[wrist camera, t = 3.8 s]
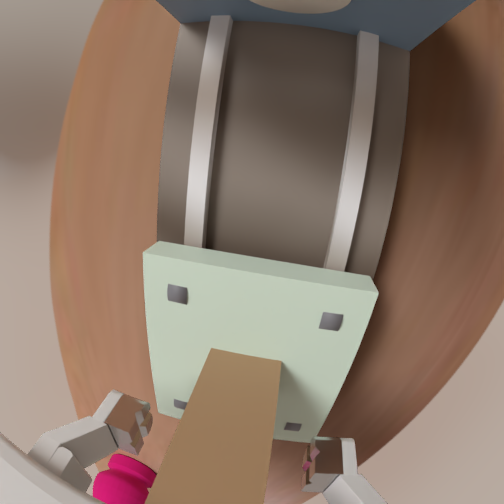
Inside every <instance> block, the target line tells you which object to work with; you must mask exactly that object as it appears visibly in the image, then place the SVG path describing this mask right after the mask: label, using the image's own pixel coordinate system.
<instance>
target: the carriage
mask: <svg viewBox="0 0 504 504" xmlns="http://www.w3.org/2000/svg"><path fill="white" fill-rule="evenodd" d="M143 274H144V295H145V310H146V323H147V334H148V343H149V352H150V361H151V368H152V376H153V383H154V389H155V396H156V402H157V407H158V413H161V414H164V415H168V416H171V417H174V418H178V419H181V420H180V422H179V424H178V427H177V429H176V431H175V434H174V436H173V438H172V441H171V443H170V445H169V448H168V450H167V452H166V455H165V457H164V459H163V462H162V464H161V466H160V469H159V471H158V473H157V476H156V478H155V480H154V483H153V485H152V487H151V490H150V492H149V494H148V497H147V499H146V501H145V504H264V497H265V491H266V484H267V478H268V471H269V464H270V456H271V449H272V441H273V439H278V440H286V441H295V442H306V443H310V441H311V439H312V437H316V436H317V434H318V432H319V431H320V429H321V427H322V425H323V423H324V421H325V419H326V418H327V416H328V414H329V412H330V410H331V408H332V406H333V404H334V402H335V400H336V398H337V396H338V393H339V391H340V389H341V387H342V385H343V383H344V381H345V378H346V376H347V374H348V372H349V369H350V367H351V365H352V362H353V360H354V358H355V355H356V353H357V351H358V348H359V346H360V343H361V341H362V338H363V335H364V333H365V330H366V328H367V325H368V322H369V320H370V317H371V314H372V311H373V308H374V305H375V303H376V300H377V297H378V294H379V292H378V290H377V288H376V286H375V285H374V283H373V281H372V279H371V277H370V276H367V275H361V274H354V273H348V272H342V271H336V270H330V269H324V268H318V267H312V266H306V265H300V264H294V263H288V262H282V261H276V260H270V259H264V258H258V257H252V256H246V255H240V254H234V253H228V252H222V251H216V250H210V249H204V248H198V247H193V246H187V245H181V244H175V243H169V242H163V241H158V242H157V243H155V244H154V245H153V246H151V247H150V248H148V249H147V250H146V251H144V252H143Z"/></svg>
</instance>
